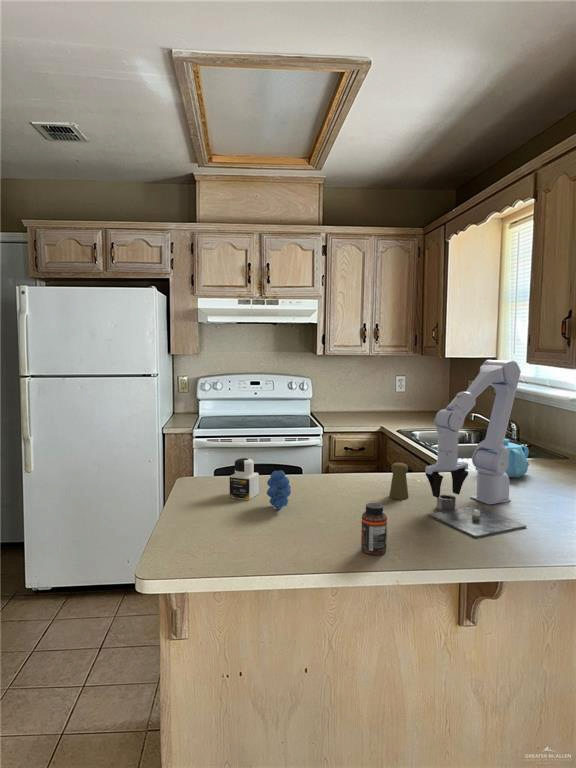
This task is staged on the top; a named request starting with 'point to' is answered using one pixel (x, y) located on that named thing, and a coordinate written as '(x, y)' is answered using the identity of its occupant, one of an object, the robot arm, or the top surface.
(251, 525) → the top surface
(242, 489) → the medicine bottle
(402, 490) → the cork
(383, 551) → the supplement bottle
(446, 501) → the ring
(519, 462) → the decorative pot
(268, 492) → the grapes
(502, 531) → the stand
